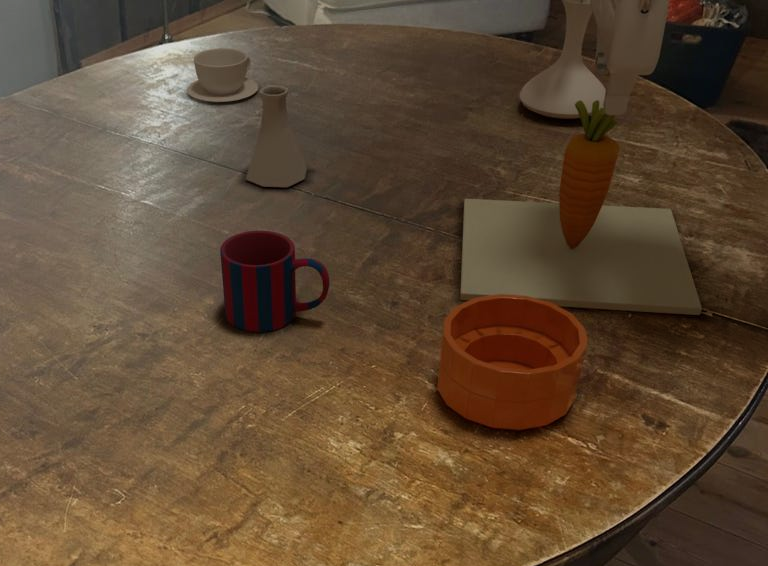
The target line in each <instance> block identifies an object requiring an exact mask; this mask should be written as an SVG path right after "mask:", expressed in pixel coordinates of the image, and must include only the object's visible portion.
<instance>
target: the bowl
mask: <svg viewBox="0 0 768 566" xmlns="http://www.w3.org/2000/svg"><path fill="white" fill-rule="evenodd" d="M587 337H588V336H587V331H586V328H585V327H584V325H583V324H582V323H581V322H580V321H579V320H578V319H577V318H576V316H575V315H574V314H573V313H571V312H569V311H568V310H566V309H564V308H563V307H561V306H557V305H555V304H553V303H551V302H547V301H544V300H540V299H536V298H533V297H529V296H522V295H507V294H497V295H491V296H484V297H478V298H474V299H471V300H466V301H465V302H463V303H461V304H459V305H456V306H455V307H454V308H453V309H452V310H451V311H450V312H449V313H448V315H447V316H446V317H445V318H444V320H443V327H442V338H441V344H440V345H441V346H440V353H439V354H440V355H439V364H438V373H437V387H436V388H437V391H438V393H439V394H440V396H441V398H442V400H443V401H444V402H445V403H444V404H445V405H446V406H447V407H448V408H450V409H452V410H453V411H454V412H456V413H457V414H459V415H460V416H462V417H463V418H464V419H466V420H468V421H472V422H475V423H479V424H480V425H484V426H487V427H489V428H492V429H502V430H504V429H505V430H514V431H515V430H516V431H522V430H527V429H532V428H538V427H544V426H545V427H546V426H548V425H550V424H551V423H554V422H555V421H557V420H559V419H561V418H562V417H564V416H565V415H567V413H568V411H569V410H570V408H571V407H572V405H573V403H574V402H575V400H576V396H577V391H578V388H579V387H578V386H579V384H580V383H579V382H580V379H581V375H582V370H583V366H584V361H585V358H586V354H587V348H588V338H587Z"/></svg>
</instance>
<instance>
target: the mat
mask: <svg viewBox="0 0 768 566" xmlns="http://www.w3.org/2000/svg"><path fill="white" fill-rule="evenodd" d="M462 214H463V215H462V216H463V217H462V219H463V220H462V240H461V242H462V243H461V262H460V263H461V266H460V290H459V300H460V301H469V300H471V299H474V298H478V297H484V296H491V295H497V294H507V295H522V296H529V297H533V298H536V299H540V300H544V301H547V302H551V303H553V304H555V305H557V306H559V307H561V308H563V307H564V308H580V309H594V310H595V309H597V310H612V311H626V312H627V311H628V312H642V313H656V314H657V313H659V314H673V315H689V316H691V315H692V316H700V315H701V313H702V310H703V306H702V304H701V300H700V297H699V294H698V292H697V288H696V285H695V281H694V279H693V276H692V272H691V269H690V267H689V266H690V265H689V262H688V259H687V256H686V253H685V249H684V246H683V243H682V240H681V237H680V234H679V230H678V227H677V223H676V221H675V218H674V214H673V212H672V209H671V208H663V207H661V208H659V207H642V206H641V207H640V206H621V205H604V204H603V205H602V207H601V210H600V212H599V214H598V216H597V219H596V221H595V223H594V225H593V227H592V228H591V230H590V231H589V233H588V234H587V236H586V237H585V238H584V240H583V241H582V242H581V243H580V244H579V245H578V246H577V247H575V248H574V249H571V248H570V247H569V246H568V245H567V243H566V240H565V237H564V235H563V232H562V227H561V222H560V209H559V203H558V202H542V201H541V202H539V201H523V200H522V201H521V200H520V201H519V200H504V199H503V200H500V199H499V200H498V199H481V198H464V200H463V213H462Z"/></svg>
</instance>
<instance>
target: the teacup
mask: <svg viewBox="0 0 768 566" xmlns="http://www.w3.org/2000/svg"><path fill="white" fill-rule="evenodd" d="M193 64H194V69H195V75H196V76H197V79H198V80H195V81H194V82H192V83H190V84H189V85H188V86H187V89H186V92H187V94H188V95H189V96H190V97H191V98H194V99H198V100H200V101H203V102H204V101H205V102H212V103H213V102H214V103H215V102H216V103H220V102H221V103H223V102H233V101H238V100H243V99H246V98H248V97H250V96H252V95H254V94H255V93H256V92H257V91H258V89H259V85H258V83H257V82H256V81H255V80H253V79H250V78H248V77H246V76H247V73H248V72H249V70H250V68H251V58H250V56H248V54H247V53H246V52H245V51H243V50H241V49H236V48H229V47H221V48H210V49H206V50H202V51H200V52H198V53H196V54H194V57H193Z"/></svg>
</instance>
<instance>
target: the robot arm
mask: <svg viewBox="0 0 768 566" xmlns="http://www.w3.org/2000/svg"><path fill="white" fill-rule="evenodd" d="M590 4H591V8H592V11H593V12H592V16H593V18H594V21H595V26H596V32H597V33H596V52H595V59H594V64H593V68H594V72H595V75H596V76H598V77H609V78H608V82H607V87H606V88H605V89H606V92H605V99H604V103H603V105H604V111H605V113H606V114H607V115H616V116H623V115H624V114H626V112H627V110H628V106H629V100H630V95H631V93H632V91H633V88H634V86H635V84H636V82H637V81H638V76H649V75H652V74H653V73H654V72H655V69H656V67H657V65H658V62H659V58H660V56H661V50H662V45H663V41H664V35H665V28H666V23H667V18H668V17H667V16H668V12H669V5H670V0H590Z"/></svg>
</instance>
